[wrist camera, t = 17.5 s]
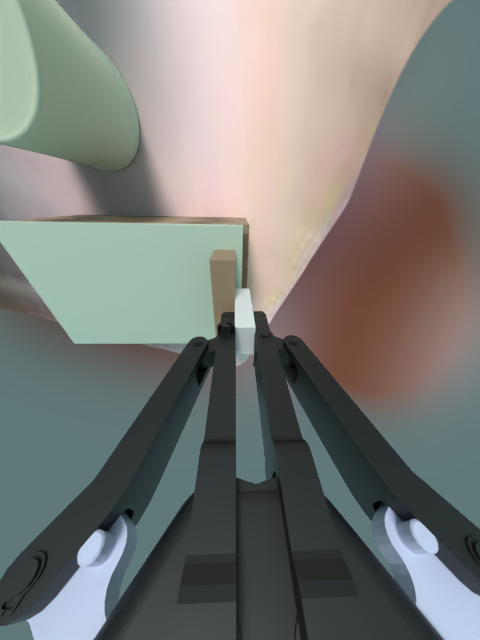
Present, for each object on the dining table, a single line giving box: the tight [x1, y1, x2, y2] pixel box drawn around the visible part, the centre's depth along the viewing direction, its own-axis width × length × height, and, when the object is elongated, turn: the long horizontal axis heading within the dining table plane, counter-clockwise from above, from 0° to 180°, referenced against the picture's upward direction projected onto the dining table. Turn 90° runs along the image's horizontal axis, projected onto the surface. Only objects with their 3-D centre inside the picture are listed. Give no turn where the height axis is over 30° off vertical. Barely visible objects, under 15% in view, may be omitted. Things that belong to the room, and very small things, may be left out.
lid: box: [0, 221, 243, 344], centre depth 18 cm, size 22×14×5 cm, turn 89°
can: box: [0, 0, 140, 172], centre depth 12 cm, size 9×9×12 cm
